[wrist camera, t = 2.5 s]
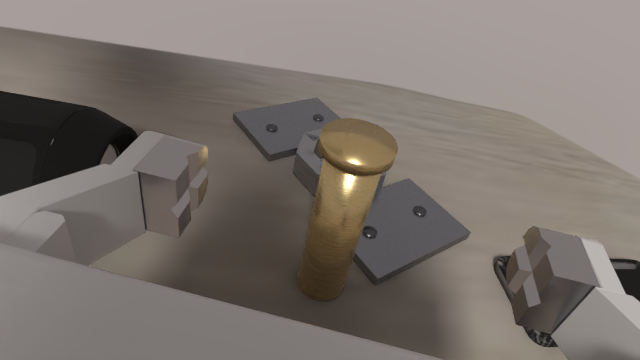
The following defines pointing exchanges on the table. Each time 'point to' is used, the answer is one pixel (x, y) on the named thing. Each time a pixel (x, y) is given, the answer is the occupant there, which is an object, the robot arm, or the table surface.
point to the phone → (631, 274)
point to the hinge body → (388, 202)
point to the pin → (342, 202)
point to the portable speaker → (54, 140)
